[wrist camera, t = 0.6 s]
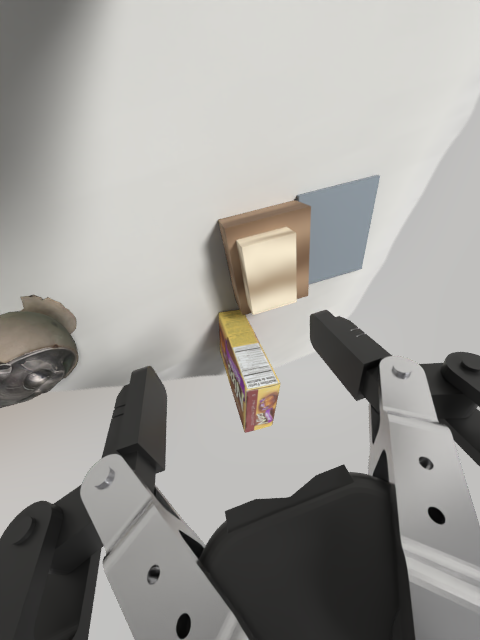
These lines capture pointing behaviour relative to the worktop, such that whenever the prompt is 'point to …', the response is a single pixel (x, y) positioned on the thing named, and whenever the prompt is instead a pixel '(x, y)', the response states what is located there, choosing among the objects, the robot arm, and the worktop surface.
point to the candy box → (248, 371)
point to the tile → (269, 269)
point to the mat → (339, 227)
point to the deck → (264, 221)
